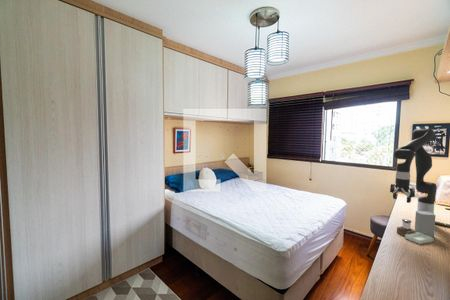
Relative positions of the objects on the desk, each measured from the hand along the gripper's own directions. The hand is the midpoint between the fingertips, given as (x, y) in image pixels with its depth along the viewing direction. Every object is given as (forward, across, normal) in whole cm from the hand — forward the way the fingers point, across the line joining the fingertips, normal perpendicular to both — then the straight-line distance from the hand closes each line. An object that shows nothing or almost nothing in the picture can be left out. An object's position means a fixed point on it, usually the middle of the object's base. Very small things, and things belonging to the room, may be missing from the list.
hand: (401, 200), depth 143 cm
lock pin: (+23, -3, -2) cm, 23 cm away
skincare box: (+24, -6, -14) cm, 28 cm away
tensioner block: (+23, -3, -2) cm, 23 cm away
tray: (+23, -11, -1) cm, 25 cm away
